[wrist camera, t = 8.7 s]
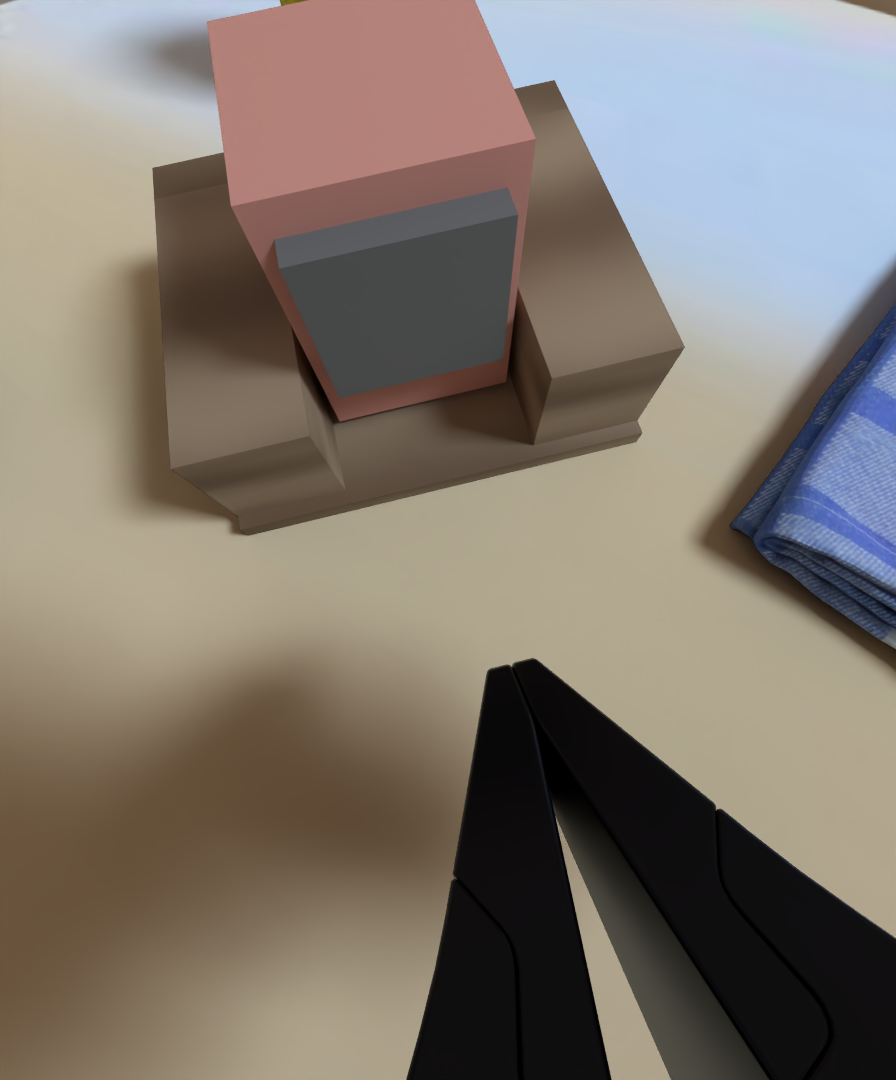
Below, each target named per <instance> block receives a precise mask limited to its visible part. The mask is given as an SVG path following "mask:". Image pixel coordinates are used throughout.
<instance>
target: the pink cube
mask: <svg viewBox="0 0 896 1080" xmlns="http://www.w3.org/2000/svg"><path fill="white" fill-rule="evenodd" d="M207 26H208V34H209V42H210V49H211V57H212V65H213V72H214V80H215V88H216V95H217V103H218V111H219V118H220V126H221V134H222V141H223V149H224V157H225V164H226V172H227V180H228V187H229V195H230V203H231V207H232V209H233V211H234V213H235V215H236V217H237V219H238V221H239V223H240V225H241V227H242V229H243V231H244V233H245V235H246V237H247V239H248V241H249V243H250V245H251V247H252V249H253V251H254V253H255V255H256V257H257V259H258V261H259V263H260V265H261V267H262V269H263V271H264V273H265V275H266V277H267V279H268V281H269V283H270V285H271V287H272V289H273V290H274V292H275V294H276V296H277V298H278V300H279V302H280V304H281V306H282V308H283V310H284V312H285V314H286V316H287V318H288V320H289V322H290V324H291V326H292V328H293V330H294V332H295V334H296V336H297V338H298V340H299V342H300V344H301V346H302V348H303V350H304V352H305V354H306V356H307V358H308V360H309V362H310V364H311V366H312V368H313V370H314V372H315V374H316V376H317V378H318V379H319V381H320V383H321V385H322V387H323V389H324V391H325V393H326V395H327V397H328V399H329V401H330V403H331V405H332V407H333V409H334V411H335V413H336V415H337V417H338V419H339V421H344V420H348V419H353V418H357V417H361V416H365V415H370V414H374V413H378V412H382V411H387V410H391V409H395V408H399V407H403V406H408V405H412V404H416V403H420V402H425V401H429V400H433V399H437V398H442V397H446V396H450V395H454V394H458V393H463V392H467V391H471V390H475V389H480V388H484V387H488V386H492V385H497V384H501V383H505V382H506V378H507V370H508V362H509V354H510V346H511V338H512V330H513V321H514V313H515V305H516V297H517V289H518V281H519V273H520V265H521V256H522V248H523V240H524V232H525V224H526V216H527V208H528V199H529V191H530V183H531V175H532V167H533V159H534V151H535V142H536V138H535V135H534V133H533V131H532V129H531V126H530V124H529V122H528V120H527V117H526V115H525V113H524V111H523V108H522V106H521V104H520V102H519V99H518V97H517V95H516V92H515V90H514V88H513V86H512V83H511V81H510V79H509V77H508V74H507V72H506V70H505V68H504V65H503V63H502V61H501V59H500V56H499V54H498V52H497V50H496V47H495V45H494V43H493V40H492V38H491V36H490V34H489V31H488V29H487V27H486V25H485V22H484V20H483V18H482V16H481V13H480V11H479V9H478V7H477V4H476V2H475V0H308V1H303V2H298V3H293V4H289V5H284V6H279V7H274V8H270V9H265V10H260V11H255V12H251V13H246V14H241V15H236V16H232V17H227V18H222V19H217V20H213V21H208V22H207Z"/></svg>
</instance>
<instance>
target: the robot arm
mask: <svg viewBox="0 0 896 1080" xmlns="http://www.w3.org/2000/svg"><path fill="white" fill-rule="evenodd" d="M555 816H556V818H557V820H558V823H559V825H560V827H561V829H562V832H563V834H564V836H565V838H566V841H567V843H568V845H569V848H570V850H571V852H572V854H573V857H574V859H575V861H576V864H577V866H578V868H579V870H580V873H581V875H582V877H583V880H584V882H585V884H586V886H587V889H588V891H589V893H590V896H591V898H592V900H593V902H594V905H595V907H596V909H597V911H598V914H599V916H600V918H601V921H602V923H603V925H604V927H605V930H606V932H607V934H608V937H609V939H610V941H611V943H612V946H613V948H614V950H615V953H616V955H617V957H618V959H619V962H620V964H621V966H622V969H623V971H624V973H625V975H626V978H627V980H628V982H629V984H630V987H631V989H632V991H633V994H634V996H635V998H636V1000H637V1003H638V1005H639V1007H640V1010H641V1012H642V1014H643V1016H644V1019H645V1021H646V1023H647V1026H648V1028H649V1030H650V1032H651V1035H652V1037H653V1039H654V1042H655V1044H656V1046H657V1048H658V1051H659V1053H660V1055H661V1058H662V1060H663V1062H664V1064H665V1067H666V1069H667V1071H668V1073H669V1076H670V1078H671V1080H896V938H895V937H893V936H892V935H890V934H889V933H888V932H886V931H885V930H883V929H882V928H880V927H879V926H877V925H876V924H875V923H873V922H872V921H870V920H869V919H867V918H866V917H864V916H863V915H861V914H860V913H859V912H857V911H856V910H854V909H853V908H852V907H850V906H849V905H847V904H846V903H845V902H843V901H842V900H840V899H839V898H838V897H836V896H835V895H833V894H832V893H831V892H829V891H828V890H826V889H825V888H823V887H822V886H821V885H819V884H818V883H816V882H815V881H814V880H812V879H811V878H809V877H808V876H807V875H805V874H804V873H802V872H801V871H800V870H798V869H797V868H796V867H794V866H793V865H792V864H791V863H789V862H788V861H787V860H785V859H784V858H783V857H781V856H780V855H779V854H778V853H776V852H775V851H774V850H772V849H771V848H770V847H769V846H767V845H766V844H765V843H763V842H762V841H761V840H760V839H758V838H757V837H756V836H754V835H753V834H752V833H751V832H749V831H748V830H747V829H746V828H744V827H743V826H742V825H741V824H740V823H738V822H737V821H736V820H735V819H733V818H732V817H731V816H730V815H728V814H727V813H726V812H725V811H724V810H722V809H717V811H716V805H715V804H714V803H713V802H712V801H711V800H710V799H708V798H707V797H706V796H705V795H703V794H702V793H701V792H700V791H699V790H697V789H696V788H695V787H694V786H692V785H691V784H690V783H689V782H687V781H686V780H685V779H684V778H682V777H681V776H680V775H679V774H678V773H676V772H675V771H674V770H673V769H671V768H670V767H669V766H668V765H666V764H665V763H664V762H663V761H661V760H660V759H659V758H658V757H657V756H655V755H654V754H653V753H652V752H650V751H649V750H648V749H647V748H645V747H644V746H643V745H642V744H641V743H639V742H638V741H637V740H636V739H634V738H633V737H632V736H631V735H629V734H628V733H627V732H626V731H624V730H623V729H622V728H621V727H620V726H618V725H617V724H616V723H615V722H613V721H612V720H611V719H610V718H608V717H607V716H606V715H605V714H603V713H602V712H601V711H600V710H599V709H597V708H596V707H595V706H594V705H592V704H591V703H590V702H589V701H587V700H586V699H585V698H584V697H582V696H581V695H580V694H579V693H578V692H576V691H575V690H574V689H573V688H571V687H570V686H569V685H568V684H566V683H565V682H564V681H563V680H562V679H560V678H559V677H558V676H557V675H555V674H554V673H553V672H552V671H550V670H549V669H548V668H547V667H545V666H544V665H543V664H542V663H541V662H539V661H538V660H537V659H534V658H531V659H527V660H523V661H519V662H515V663H514V664H513V665H512V667H511V666H510V665H503V666H499V667H495V668H491V669H489V670H488V672H487V675H486V680H485V686H484V692H483V698H482V704H481V710H480V716H479V722H478V728H477V734H476V740H475V746H474V752H473V758H472V763H471V769H470V775H469V781H468V787H467V793H466V799H465V805H464V811H463V817H462V823H461V829H460V835H459V841H458V847H457V852H456V858H455V864H454V870H453V876H454V879H453V880H452V881H451V886H450V892H449V898H448V904H447V910H446V915H445V920H444V925H443V931H442V936H441V941H440V946H439V951H438V956H437V961H436V966H435V971H434V975H433V979H432V983H431V987H430V991H429V995H428V999H427V1003H426V1007H425V1011H424V1015H423V1019H422V1023H421V1027H420V1031H419V1035H418V1039H417V1042H416V1046H415V1050H414V1053H413V1057H412V1061H411V1064H410V1068H409V1072H408V1075H407V1079H406V1080H611V1075H610V1071H609V1066H608V1061H607V1056H606V1052H605V1047H604V1042H603V1038H602V1033H601V1028H600V1024H599V1019H598V1014H597V1010H596V1005H595V1000H594V996H593V991H592V986H591V982H590V977H589V972H588V968H587V963H586V958H585V954H584V949H583V944H582V939H581V935H580V930H579V925H578V921H577V916H576V911H575V907H574V902H573V897H572V893H571V888H570V883H569V879H568V874H567V869H566V865H565V860H564V855H563V851H562V846H561V841H560V836H559V832H558V827H557V822H556V818H555Z"/></svg>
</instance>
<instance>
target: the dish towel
mask: <svg viewBox="0 0 896 1080" xmlns="http://www.w3.org/2000/svg"><path fill="white" fill-rule="evenodd" d="M730 527H731V528H732V529H734V530H740V531H742V532H743V533H745V534H746V535H747V536H749V537H750V538H751V539H752V540H753V542H754V544H755V546H756V548H757V549H758V551H759V552H760V553H761V554H762V555H763V556H764V557H765V558H766V559H767V560H768V561H769V562H770V563H771V564H773V565H775V566H777V567H779V568H781V569H783V570H785V571H787V572H789V573H790V574H791V575H792V576H793V577H795V578H796V579H797V580H798V581H799V582H800V583H801V584H803V585H804V586H805V587H806V588H807V589H809V590H810V591H811V592H812V593H813V594H815V595H816V596H817V597H818V598H820V599H821V600H822V601H824V602H825V603H827V604H828V605H830V606H832V607H833V608H835V609H836V610H838V611H839V612H840V613H842V614H843V615H845V616H846V617H847V618H849V619H850V620H852V621H853V622H855V623H856V624H857V625H859V626H860V627H862V628H863V629H865V630H866V631H868V632H869V633H870V634H872V635H873V636H875V637H876V638H878V639H879V640H881V641H883V642H885V643H887V644H888V645H890V646H892V647H893V648H895V649H896V304H895V305H894V306H893V308H892V309H891V310H890V312H889V313H888V314H887V316H886V317H885V318H884V319H883V321H882V322H881V323H880V324H879V326H878V327H877V328H876V329H875V331H874V332H873V333H872V335H871V336H870V337H869V338H868V340H867V341H866V342H865V343H864V344H863V346H862V347H861V348H860V349H859V351H858V352H857V353H856V355H855V356H854V357H853V359H852V360H851V361H850V363H849V364H848V365H847V366H846V368H845V369H844V370H843V371H842V373H841V374H840V375H839V376H838V378H837V379H836V380H835V381H834V382H833V384H832V385H831V386H830V387H829V389H828V390H827V391H826V392H825V394H824V395H823V396H822V398H821V399H820V400H819V402H818V404H817V406H816V408H815V409H814V411H813V413H812V415H811V417H810V418H809V420H808V421H807V423H806V424H805V426H804V427H803V429H802V430H801V432H800V433H799V434H798V436H797V437H796V438H795V440H794V441H793V442H792V444H791V445H790V447H789V448H788V450H787V451H786V453H785V454H784V455H783V457H782V459H781V460H780V461H779V463H778V464H777V465H776V467H775V468H774V469H773V471H772V472H771V473H770V475H769V476H768V477H767V479H766V480H765V481H764V483H763V484H762V485H761V487H760V488H759V489H758V491H757V492H756V493H755V495H754V496H753V497H752V499H751V500H750V501H749V503H748V504H747V505H746V507H745V508H744V509H743V510H742V512H741V513H740V514H739V515H738V516H737V517H736V519H735V520H734V521H733V522H732V523H731V524H730Z"/></svg>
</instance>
